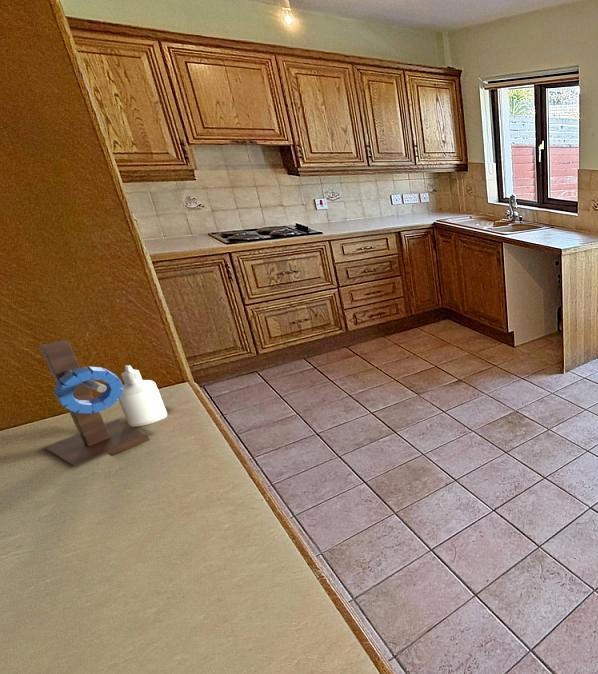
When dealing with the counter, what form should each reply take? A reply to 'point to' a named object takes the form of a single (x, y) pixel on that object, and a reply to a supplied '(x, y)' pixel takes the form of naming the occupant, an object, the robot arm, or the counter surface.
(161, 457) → the counter surface
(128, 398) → the eye dropper bottle
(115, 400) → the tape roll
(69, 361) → the hook stand
